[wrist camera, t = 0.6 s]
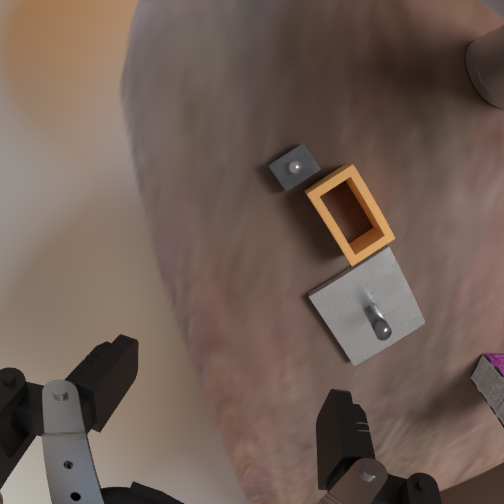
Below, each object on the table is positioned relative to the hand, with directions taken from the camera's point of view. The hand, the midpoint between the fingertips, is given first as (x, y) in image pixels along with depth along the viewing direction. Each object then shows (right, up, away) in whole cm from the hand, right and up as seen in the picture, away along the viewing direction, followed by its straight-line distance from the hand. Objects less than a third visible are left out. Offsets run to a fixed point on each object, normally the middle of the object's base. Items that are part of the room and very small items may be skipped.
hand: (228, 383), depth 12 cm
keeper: (+14, -1, +22) cm, 26 cm away
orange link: (+10, +9, +20) cm, 24 cm away
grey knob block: (+5, +14, +19) cm, 24 cm away
